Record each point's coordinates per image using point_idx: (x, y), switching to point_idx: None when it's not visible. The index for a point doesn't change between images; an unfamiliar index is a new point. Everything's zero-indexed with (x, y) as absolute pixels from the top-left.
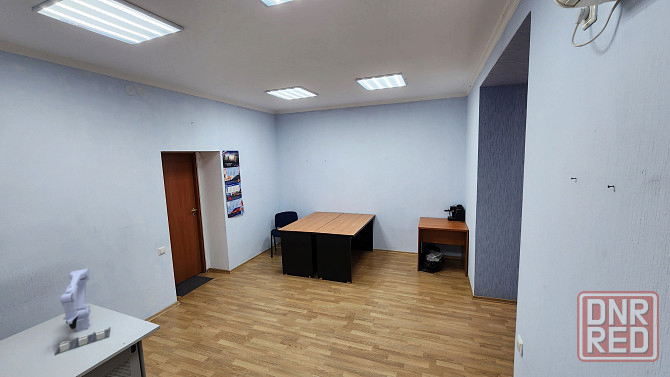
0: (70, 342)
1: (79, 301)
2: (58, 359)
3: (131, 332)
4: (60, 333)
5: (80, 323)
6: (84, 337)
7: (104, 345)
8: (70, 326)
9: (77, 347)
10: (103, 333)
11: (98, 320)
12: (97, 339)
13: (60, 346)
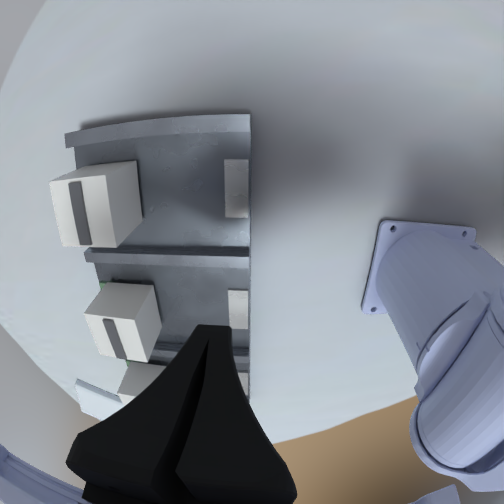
0: (214, 209)
1: None
2: (44, 167)
3: None
4: (482, 118)
5: (411, 324)
6: (111, 346)
7: (91, 366)
8: (171, 368)
9: (98, 270)
10: None
11: None
12: (129, 366)
13: (52, 188)
